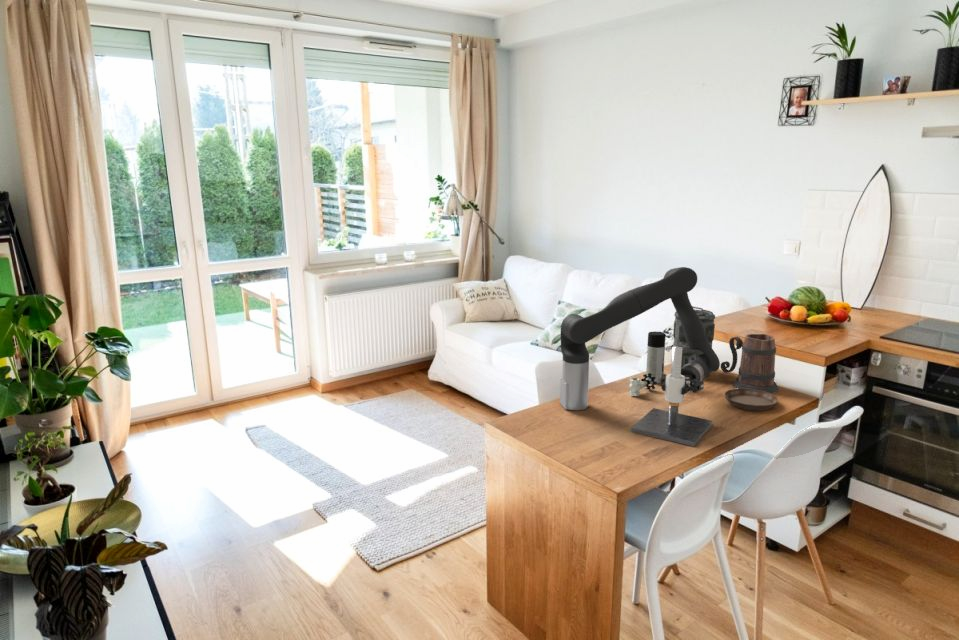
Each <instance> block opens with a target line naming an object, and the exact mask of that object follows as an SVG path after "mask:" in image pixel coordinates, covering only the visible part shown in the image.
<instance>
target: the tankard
mask: <svg viewBox="0 0 959 640" xmlns="http://www.w3.org/2000/svg"><path fill="white" fill-rule="evenodd" d="M735 341H736V342H735ZM728 344H729V348H730V352H731V354H732V363H731V364H730V362H729V361H727V360H726V361H722V362H720V370H721V371H722V372H723V373H725V374H728V373H731V372H733V371H735V369H736V366H737V364H738V351H737V350H740V349H741V356H740V364H739V367H738V377H736V378H734V379H735V380H733V382H732V383H731V384H732V386H733V387H734V389H737V388H738V389H755V390H761V391H765V392H768V393H771V394H775V393H777V391H778V390H779V391H780V387H779V386H778V385H777V382H775V378H776V371H775V364H776V353H777V347H776V341H775V337H774V336H772V335H770V334H767V333H749V334H746V335H745V337H744V341H743V340H742V339H741V337H739V336H734V337H733V336H732V337H731V338H730V339H729V343H728ZM735 344H736V345H735ZM730 365H731V366H730ZM778 387H779V388H778ZM779 391H778V392H779ZM774 392H775V393H774Z"/></svg>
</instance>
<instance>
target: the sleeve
mask: <svg viewBox="0 0 959 640" xmlns="http://www.w3.org/2000/svg"><path fill="white" fill-rule="evenodd" d="M684 386H685V376H683V375H681V377H680V378H671V373H668V374H666V384H665V391H664V400H665V401H666V402H668V403H669V402H671V403H679V404H680V403H681V404H682V403H683V401H684V400H685V394H684V395H682V394H681V390H682V387H684Z"/></svg>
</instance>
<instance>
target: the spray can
mask: <svg viewBox="0 0 959 640" xmlns="http://www.w3.org/2000/svg"><path fill="white" fill-rule="evenodd" d="M646 345H647V347H646V348H647V350H646V353H647V354H646V372H645V374H646V375H647V376H648V374H649V373H651V377H654V376H655V377H656V379H654V381H655V382H657V385H658V384H659V383H660V380H661V377H662V375H663V374H665V373H664V369H665V356H666V355H665V351H666V333H665V332H662V331H649V332H648V333H647V344H646ZM649 379H650V380H652V379H651V378H646V380H649ZM652 383H653V382H651V383H650V384H652Z"/></svg>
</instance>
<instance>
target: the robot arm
mask: <svg viewBox="0 0 959 640" xmlns="http://www.w3.org/2000/svg"><path fill="white" fill-rule="evenodd" d="M697 283H698V274H697V273H696V272H695V270H694V269H692V268H690V267H686V266H681V267H676V268H675V267H674V268H671V269H669V270H667V271H666V272H665V274H664V276H663V278H662V279H659V280H657V281H653V282H652V283H649V284H644V285H641V286H638V287H635V288H633V289H630V290H628V291H625V292H622V293H621V294H619V295H617V296H616V297H614V298H613V299H612V300H611V301H609V303H608V304H607V305H606V306H605V307H604V308H602V309H601V310H599V311H598V312H595V313H593V314H590V315H588V316H584V317H583V316H582V315H580V314H577V313H571V314H567V316H565V317H564V318H563V320H562V322H561V325H560V350H561V354H562V378H561V379H560V380H559V381H560V383H559V385H560V386H559V390H560V391H559V393H560V394H559V405H561V407H563V409H564V410H568V411H569V410H570V411H582V410H586V409H588V407H589V405H588V404H589V375H590V374H589V372H590V353H589V351H588V348H587V346H586V343H588V342H590V341H592V340H593V339H595V338H596V337H598V336H599V335H601V334H602V333H604V332H606V331H608V330H609V329H611V328H613V327H617V326H619V325H620V324H622V323H624V322H626V321H629V320H632V319H633V318H636V317H638V316H639V315H641V314H643V313H645V312H647V311H649V310H651V309H652V308H655V307H657V306H658V305H660V304H662V303H663V302H665V301H668V300H669V299H670V300H671V302H672V305H673V307H674V310H675V312H677V314H678V316H679V319H680V322H681V325H682V327H683V331H684V334H685V338H686V341H687V344H688V347H689V348H690V349H694V350H701V351H702V352H703V353H704V354H699V355H694V356H692V357H690V358H689V361H688V364H686V365H684V366H683V367H682V368H681V375H683V376H685V386H684V387H682V390H681V394H682V395H684V396H685V395H686V394H688V393H691V392H692V393H694V394H695V393H698V392H700V391H702V390H704V388H705V387H704V386H705V381H704V380H703V379H704V378H705V375H706V374H707V373H710V372H711V373H714V372H718V371H719V369H720V367H721V362H720V358H719V357H718V355H717V353H716V352H715V351H714V349H713V346H712V347H711V346H710V344H709V342H708V340H707V337H706V333H705V330H704V327H703V324H702V322H701V320H700V318H699V316H698V315H697V313H696V312H695V310H696V309H695V308H693V307H694V306H693V305H692V303H691V301H690V298H689V294H688V293H689V292H691V291H693V289H694V288H695V286H696V285H697ZM692 306H693V307H692ZM711 373H710V374H711ZM666 375H667V374H666V373H664V374H663V375H662V377H661V380H660V387H661V388H660V389H661V390H662V391H663V392H665V384H666Z"/></svg>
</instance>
